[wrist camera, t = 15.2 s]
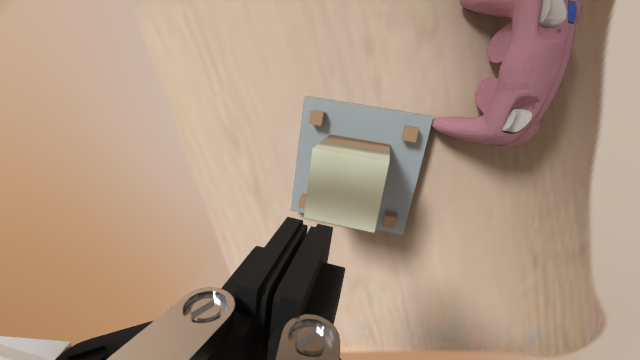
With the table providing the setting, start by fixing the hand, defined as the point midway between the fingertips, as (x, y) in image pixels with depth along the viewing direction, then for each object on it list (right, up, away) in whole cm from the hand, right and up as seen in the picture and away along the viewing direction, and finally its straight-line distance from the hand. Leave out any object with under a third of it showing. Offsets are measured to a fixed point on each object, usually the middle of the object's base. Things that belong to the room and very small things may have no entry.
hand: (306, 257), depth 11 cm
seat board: (+4, +4, +15) cm, 16 cm away
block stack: (+3, +4, +14) cm, 15 cm away
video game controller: (+13, +11, +11) cm, 20 cm away
